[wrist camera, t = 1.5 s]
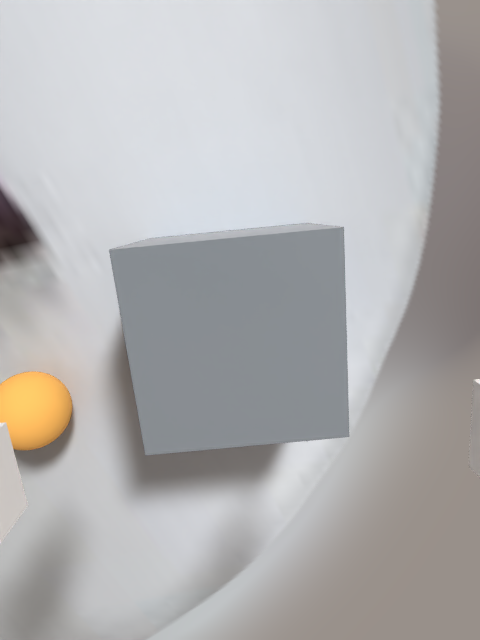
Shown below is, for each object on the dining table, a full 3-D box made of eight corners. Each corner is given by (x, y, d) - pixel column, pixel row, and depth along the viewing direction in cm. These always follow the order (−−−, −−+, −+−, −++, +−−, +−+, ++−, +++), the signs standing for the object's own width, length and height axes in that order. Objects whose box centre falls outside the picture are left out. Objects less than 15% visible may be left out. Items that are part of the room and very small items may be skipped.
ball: (5, 364, 28) (-44, 395, 23) (75, 357, 28) (42, 387, 23) (21, 427, 29) (-21, 470, 24) (89, 421, 29) (60, 462, 24)
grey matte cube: (150, 238, 26) (108, 249, 17) (307, 222, 26) (343, 226, 17) (172, 383, 28) (145, 455, 20) (314, 369, 28) (349, 436, 20)
